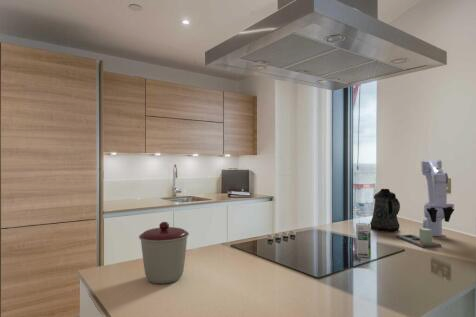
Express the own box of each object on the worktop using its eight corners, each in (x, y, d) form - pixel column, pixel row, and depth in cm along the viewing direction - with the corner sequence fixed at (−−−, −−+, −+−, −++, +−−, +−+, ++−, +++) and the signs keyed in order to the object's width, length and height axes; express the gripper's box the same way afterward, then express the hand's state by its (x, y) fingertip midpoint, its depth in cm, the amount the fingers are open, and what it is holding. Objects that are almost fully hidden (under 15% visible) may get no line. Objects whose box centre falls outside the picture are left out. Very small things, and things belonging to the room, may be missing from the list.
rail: (396, 237, 177) (396, 234, 177) (412, 236, 178) (412, 234, 178) (423, 247, 156) (423, 244, 156) (441, 246, 157) (441, 244, 157)
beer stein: (378, 225, 208) (377, 187, 208) (409, 230, 193) (409, 189, 193) (365, 229, 197) (364, 189, 197) (397, 234, 182) (396, 191, 182)
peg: (419, 244, 162) (419, 228, 162) (426, 243, 163) (426, 228, 163) (425, 246, 159) (424, 230, 159) (432, 245, 159) (432, 230, 159)
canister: (137, 273, 123) (137, 219, 123) (184, 267, 130) (183, 216, 130) (140, 292, 106) (140, 229, 106) (194, 284, 113) (193, 224, 113)
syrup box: (357, 256, 142) (356, 224, 142) (356, 253, 148) (356, 222, 148) (370, 258, 141) (370, 225, 141) (369, 254, 146) (369, 222, 146)
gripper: (433, 197, 162) (433, 223, 162) (458, 196, 164) (458, 222, 164) (423, 195, 169) (423, 221, 169) (448, 195, 171) (448, 220, 171)
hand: (440, 221), depth 167 cm, fingers open, 7 cm apart
